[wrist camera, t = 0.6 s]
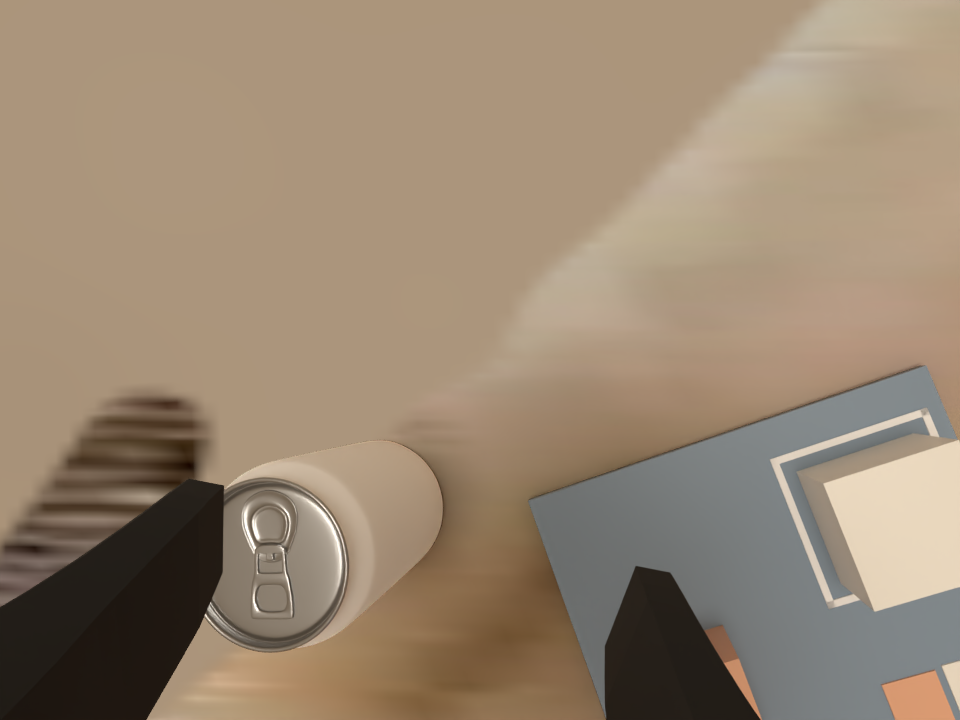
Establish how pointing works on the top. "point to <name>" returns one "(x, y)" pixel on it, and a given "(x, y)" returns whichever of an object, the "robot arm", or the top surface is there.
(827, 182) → the top surface
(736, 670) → the terracotta block
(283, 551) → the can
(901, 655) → the board
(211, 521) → the robot arm
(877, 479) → the base block
